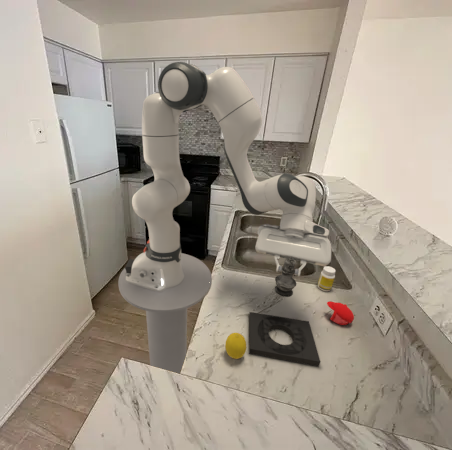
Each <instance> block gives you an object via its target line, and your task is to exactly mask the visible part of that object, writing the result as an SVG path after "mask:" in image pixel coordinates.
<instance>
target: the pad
mask: <svg viewBox="0 0 452 450" xmlns="http://www.w3.org/2000/svg"><path fill="white" fill-rule="evenodd" d="M310 323H311V322H310V320H303V319H296V318H291V317H285V316H279V315H273V314H265V313H259V312H253V311H249V314H248V350H249V351H248V353H249V354H250V355H255V356H260V357H266V358H270V359H277V360H280V361H281V360H282V361H286V362H291V363H297V364H303V365H308V366H314V367H319V366H320V363H321V358H320V356H319V352H318V348H317V344H316V341H315V338H314V335H313V331H312V327H311V324H310ZM272 330H280V331H283V332H285V333H287V334H288V335H289V336H290V337H291V339H292V342H291V343H290V344H282V343H279V342H277V341H275V340H274V339H273V338H272V337H271V335H270V331H272Z"/></svg>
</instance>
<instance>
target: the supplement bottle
mask: <svg viewBox="0 0 452 450" xmlns="http://www.w3.org/2000/svg"><path fill="white" fill-rule="evenodd" d="M336 272H337V271H336V269H335V267H332V266H328V265H326V266H323V269H322V270H321V272H320V275H319V278H318V281H317V283H316V285H317V288H318V289H319V290H321V291H323V292H330V291H332V287H333V285H334V282H335V278H336V275H335V274H336Z"/></svg>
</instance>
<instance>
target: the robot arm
mask: <svg viewBox="0 0 452 450" xmlns="http://www.w3.org/2000/svg"><path fill="white" fill-rule="evenodd" d="M157 88H158V89H157V91H158V92H154V93H152V94H149V95H147V96H146V97H145V98H144V100H143V102H142V109H141V139H142V152H143V160H144V162H145V164H146V165H147V166H149V167H150V169H151V170H152V173H153V177H154V180H153V181H151V182H149V183H147V184H144V185H143V186H141V187H140V188H139V189H137V191H136V192H135V193H133V195H132V198H131V205H132V209H133V211H134V213H135V215H137V217H139V218H140V219H142V220H144V222H145V224H146V226H147V230H148V237H149V238H148V240H147V241H146V244H145V246H144V248H143V252H142V253H139V255H137V256H136V257H135V258H134V259H131V258H130V259H128V261H127V263H126V264H125V267H124V268H125V270H126V273H127V274H126V282H127V283H130V284H134V285H137V286H140V287H143V288H147V289H150V290H153V291H156V292H162V291H164V290H165V289H167V288H171V287H174V286H176V285H178V284H180V283H181V282H182V281H183V279H184V273H183V271H182V267H181V260H180V259H181V253H182V245H181V233H180V232H181V226H180V224H179V223H178V222H177V221H175V219H174V217H173V211H174V209H175V208H176V207H178V206H179V205H181V204H182V203H183V202H184V201H186V199H187V198H188V196H189V194H190V193H191V185H190V183H189V182H190V181H189V180H188V179H187V177H185V176H184V172H183V170H182V169H183V168H182V165H181V160H180V159H181V158H180V135H179V134H180V133H179V123H180V122H179V120H180V117H181V114H182V113H186V112H189V111H192V110H195V109H199V108H200V107H201V106H205V107H206V108H207V109H208V110H210V112H211V114H212V115H213V116H214V118H215V120H216V122H217V124H218V126H219V127H220V130H221V133H222V136H223V142H224V143H223V152H224V155H225V158H226V161H227V163H228V166H229V168H230V171H231V173H232V175H233V177H234V180H235V182H236V184H237V187H238V189H239V192H240V196H241V200H242V203H243V207H244V208H245V209H246V211H248V212H249V213H250V214H252V215H256V216H259V215H262V214H265V213H268V212H273V211H277V210H280V211H282V214H281V216H280V222H279V225H276V224H269V223H264V224H261V225H259V226H258V228H257V232H256V234H257V236H258V237H257V239H256V242H255V248H254V249H255V251H256V253H257V254H262V255H268V256H271V257H273V261H274V263H275V266H276V269H275V272H276V273H280V274H282V267H283V265H281V264H280V263H279V261H280V258H281V259H285V260H286V259H287V258H290V257H292V259H293V260H294V261H295V262H299V266H300V267H299V268H294V271H295V273H294V274H293V276H294V277H299V278H300V277H301V272H302V270H303V269H304V268H305V267H306V266H307V264H311V265H315V266H321V267H325V266H328V265H330V263H331V261H332V244H331V241H330V239H329V238H328V237H329V235H330V230H329V229H328V228H326V227H324V226H321V225H319V224H317V223H315V222H313V220H314V218H313V213H314V210H315V207H316V201H317V189H316V184H315V182H314V180H313V179H311V178H310V177H308V176H306V175H305V176H304V175H297V176H295V175H293V174H292V173H287V172H286V173H282V174H281V173H280V174H278V175H275V176H272V177H270V178H267V179H264V180H260V181H259V180H257V179H256V177H255V174H254V172H253V169H252V167H251V165H250V162H249V158H248V151H249V149H250V146H251V145H252V144H253V142H254V140H255V139H256V138H257V136H258V135H259V133H260V130H261V128H262V124H263V115H262V111H261V108H260V105H259V104H258V102H257V100H256V99H255V96H254V95H253V93H252V92H251V90H250V88H249V87H248V85H247V83H246V82H245V81H244V79H243V78H242V77H241V75H240V74H239V73H238V72H237V70H235V68H233V67H231V66H222V67H220V68H217V69H216V70H214V71H213V72H212V73H209V74H207V73H205V71H204V70H202V69H201V68H199V67H198V66H196V65H195V64H192V63H188V62H184V61H173V62H171V63H169V64H168V65H166V66H165V67H164V68H163V69H162V70H161V72H160V74H159V77H158V80H157Z"/></svg>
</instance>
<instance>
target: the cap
mask: <svg viewBox="0 0 452 450" xmlns="http://www.w3.org/2000/svg"><path fill="white" fill-rule="evenodd" d="M326 305H327V306H328V308H330V310H332V311H333V313H332V314H331V317H330V318H329V320H330V321H331V322H334V323H335V324H337V325H340V326H347V325H348V324H352V323H353V322H354V319H355V315H354V313H353V311H352V310H351V308H350V307H348V304H346V303H341V302H335V301H332V300H331V301H327V302H326Z"/></svg>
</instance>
